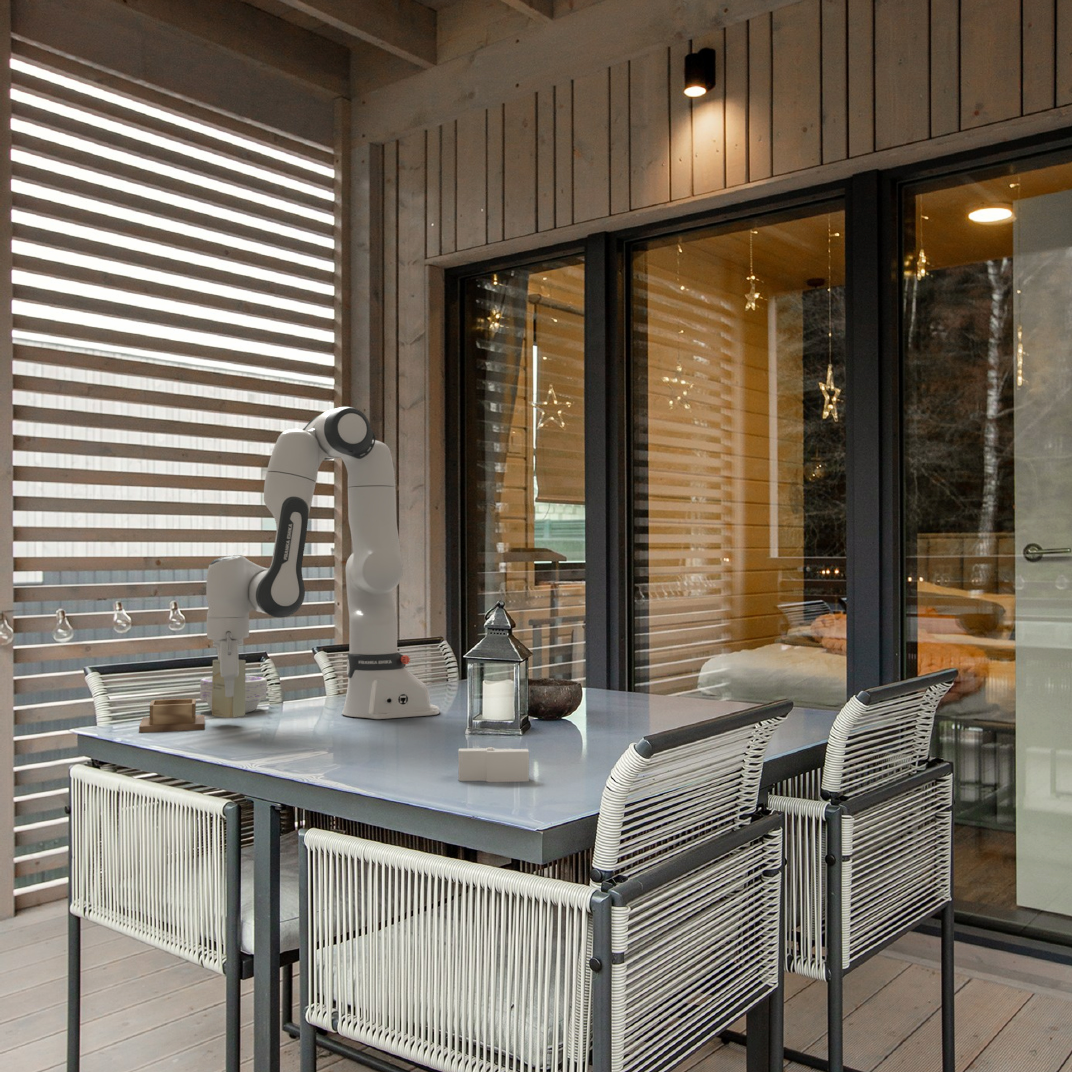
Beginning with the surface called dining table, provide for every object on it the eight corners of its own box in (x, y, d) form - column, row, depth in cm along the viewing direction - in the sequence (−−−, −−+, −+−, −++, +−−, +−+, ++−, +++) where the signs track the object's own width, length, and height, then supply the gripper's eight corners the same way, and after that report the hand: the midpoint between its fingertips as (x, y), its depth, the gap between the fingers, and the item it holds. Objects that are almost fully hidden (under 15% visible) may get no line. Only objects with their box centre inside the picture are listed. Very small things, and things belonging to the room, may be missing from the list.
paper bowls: (276, 707, 257) (276, 674, 257) (251, 717, 242) (251, 682, 242) (217, 706, 259) (217, 673, 259) (188, 715, 244) (188, 681, 244)
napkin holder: (547, 781, 175) (547, 746, 175) (508, 794, 166) (508, 757, 166) (475, 770, 184) (475, 737, 184) (434, 782, 174) (434, 747, 174)
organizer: (204, 720, 237) (204, 696, 237) (204, 729, 224) (204, 704, 224) (142, 722, 233) (143, 699, 233) (139, 732, 220) (139, 707, 220)
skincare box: (211, 716, 229) (210, 660, 229) (227, 713, 233) (226, 658, 233) (230, 718, 226) (230, 661, 226) (247, 715, 229) (246, 659, 229)
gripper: (244, 633, 220) (245, 699, 220) (241, 626, 240) (242, 687, 240) (213, 634, 218) (214, 701, 218) (212, 627, 238) (213, 689, 238)
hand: (229, 693), depth 229 cm, fingers closed on skincare box, 7 cm apart
